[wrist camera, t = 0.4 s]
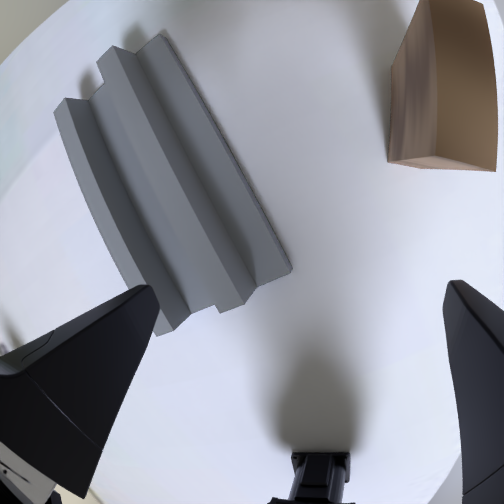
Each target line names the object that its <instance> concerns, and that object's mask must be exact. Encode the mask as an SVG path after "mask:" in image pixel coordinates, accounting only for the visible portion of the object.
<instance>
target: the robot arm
mask: <svg viewBox="0 0 504 504" xmlns="http://www.w3.org/2000/svg"><path fill="white" fill-rule="evenodd" d="M159 312H160V304H159V301H158V299H157V297H156V294H155V292H154V290H153V287H152V286H151V285H148V284H140V285H137V286H135V287H133V288H131V289H129V290H127V291H126V292H124V293H122V294H120V295H118V296H116V297H114V298H112V299H110V300H108V301H106V302H105V303H103V304H101V305H99V306H97V307H95V308H93V309H91V310H89V311H88V312H86V313H84V314H82V315H80V316H78V317H76V318H75V319H73V320H71V321H69V322H67V323H65V324H63V325H62V326H60V327H58V328H56V329H55V330H52V331H50V332H49V333H47V334H45V335H43V336H41V337H39V338H37V339H35V340H33V341H31V342H29V343H27V344H25V345H23V346H21V347H19V348H17V349H15V350H13V351H11V352H9V353H7V354H5V355H3V356H0V504H62V501H61V496H60V494H59V493H57V492H56V491H55V490H54V488H55V486H56V485H57V484H58V485H60V486H62V487H63V488H65V489H66V490H68V491H70V492H72V493H73V494H75V495H77V496H78V497H80V498H82V499H84V498H85V497H86V495H87V492H88V489H89V486H90V483H91V481H92V478H93V475H94V473H95V470H96V467H97V465H98V462H99V459H100V457H101V454H102V452H103V449H104V446H105V444H106V441H107V439H108V436H109V434H110V431H111V429H112V426H113V424H114V421H115V419H116V417H117V414H118V412H119V409H120V407H121V405H122V402H123V400H124V398H125V395H126V393H127V391H128V389H129V386H130V384H131V382H132V379H133V377H134V375H135V373H136V370H137V368H138V366H139V364H140V362H141V359H142V357H143V355H144V353H145V351H146V348H147V346H148V343H149V340H150V337H151V334H152V331H153V329H154V326H155V323H156V320H157V317H158V315H159ZM443 318H444V324H445V332H446V340H447V349H448V357H449V363H450V369H451V374H452V379H453V385H454V391H455V397H456V404H457V411H458V419H459V428H460V439H461V452H462V473H463V495H464V496H463V497H462V504H504V311H503V310H502V309H501V308H499V307H498V306H497V305H495V304H494V303H493V302H492V301H490V300H489V299H488V298H486V297H485V296H484V295H482V294H481V293H480V292H478V291H477V290H476V289H474V288H473V287H471V286H470V285H469V284H467V283H466V282H465V281H463V280H450V281H449V282H448V284H447V288H446V293H445V298H444V302H443ZM291 460H292V464H293V469H294V473H295V477H294V481H293V485H292V488H291V491H290V495H289V498H288V500H285V499H278V498H275V497H272V499H271V501H270V502H269V503H267V504H355V503H342V497H343V490H344V483H348V482H349V479H350V454H349V453H293V454H292V455H291Z"/></svg>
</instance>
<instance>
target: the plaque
mask: <svg viewBox="0 0 504 504" xmlns="http://www.w3.org/2000/svg"><path fill="white" fill-rule="evenodd" d="M497 144H498V107H497V88H496V76H495V67H494V59H493V51H492V45H491V39H490V34H489V28H488V24H487V19H486V15H485V10H484V6H483V4H482V3H479V2H477V1H474V0H420V1H419V3H418V6H417V8H416V11H415V13H414V15H413V18H412V20H411V23H410V25H409V27H408V30H407V32H406V35H405V37H404V39H403V42H402V44H401V46H400V48H399V51H398V53H397V55H396V58H395V60H394V62H393V64H392V67H391V118H390V137H389V151H388V163H394V164H400V165H405V166H410V167H415V168H420V169H452V170H474V171H490V172H496V163H497Z"/></svg>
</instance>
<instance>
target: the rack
mask: <svg viewBox="0 0 504 504" xmlns="http://www.w3.org/2000/svg"><path fill="white" fill-rule="evenodd" d="M96 63H97V65H98V68H99V70H100V73H101V75H102V78H103V80H104V84H103V85H102V86H101V87H100V88H99V89H98V90H97V91H96V93H95V94H94V95H93V96H92V97H91V98H90V99H89V100H80V99H73V98H64V99H63V101H62V102H61V103H60V104H59V106H58V107H57V108H56V110H55V111H54V112H53V113H54V116H55V119H56V122H57V126H58V129H59V132H60V135H61V138H62V141H63V144H64V146H65V149H66V152H67V155H68V158H69V160H70V163H71V166H72V168H73V171H74V174H75V176H76V179H77V181H78V184H79V186H80V189H81V191H82V194H83V196H84V198H85V201H86V203H87V205H88V208H89V210H90V212H91V214H92V217H93V219H94V221H95V223H96V225H97V228H98V230H99V232H100V234H101V236H102V238H103V240H104V242H105V244H106V246H107V249H108V251H109V253H110V255H111V257H112V259H113V260H114V262H115V264H116V266H117V268H118V270H119V272H120V274H121V276H122V278H123V280H124V281H125V283H126V285H127V287H128V289H131V288H133V287H135V286H137V285H140V284H148V285H151V286H152V287H153V290H154V292H155V294H156V297H157V299H158V301H159V304H160V312H159V315H158V317H157V320H156V323H155V326H154V329H153V332H154V333H155V335H156V336H160V335H163V334H166V333H169V332H172V331H174V330H175V329H176V328H177V327H178V326H179V325H180V324H181V323H182V322H183V321H185V320H186V319H187V318H188V317H189V316H190V315H191V314H192V313H195V312H197V311H200V310H203V309H205V308H208V307H210V306H213V305H215V306H216V308H217V309H218V311H219V313H223V312H226V311H228V310H231V309H233V308H236V307H239V306H241V305H244V304H245V303H246V301H247V300H248V299H249V297H250V296H251V295H252V293H253V292H254V291H255V289H256V288H257V287H259V286H261V285H264V284H266V283H268V282H271V281H273V280H275V279H278V278H280V277H282V276H285V275H287V274H289V273H291V271H292V269H293V268H292V267H291V265H290V263H289V261H288V259H287V257H286V255H285V253H284V251H283V249H282V247H281V245H280V243H279V241H278V239H277V237H276V235H275V233H274V232H273V230H272V228H271V226H270V224H269V222H268V220H267V218H266V216H265V214H264V212H263V211H262V209H261V207H260V205H259V203H258V201H257V199H256V197H255V196H254V194H253V192H252V190H251V188H250V186H249V184H248V182H247V181H246V179H245V177H244V175H243V173H242V171H241V169H240V168H239V166H238V164H237V162H236V160H235V158H234V157H233V155H232V153H231V151H230V149H229V147H228V146H227V144H226V142H225V140H224V138H223V137H222V135H221V133H220V131H219V129H218V128H217V126H216V124H215V122H214V120H213V119H212V117H211V115H210V113H209V112H208V110H207V108H206V106H205V105H204V103H203V101H202V99H201V97H200V96H199V94H198V92H197V90H196V89H195V87H194V85H193V84H192V82H191V80H190V78H189V77H188V75H187V73H186V71H185V70H184V68H183V66H182V65H181V63H180V61H179V59H178V58H177V56H176V54H175V53H174V51H173V49H172V48H171V46H170V44H169V43H168V41H167V39H166V38H165V37H164V36H162V35H160V34H159V35H157V36H156V37H155V38H154V39H152V40H151V41H150V42H149V43H148V44H146V45H145V46H144V47H143V48H142V49H140V50H139V51H138V52H137V53H136V54H134V53H131V52H129V51H126V50H123V49H121V48H118V47H116V46H112V47H111V48H109V49H108V50H107V51H106V52H105V53H104V54H103V55H102V56H101V57H100V59H99V60H98V61H97V62H96Z"/></svg>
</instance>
